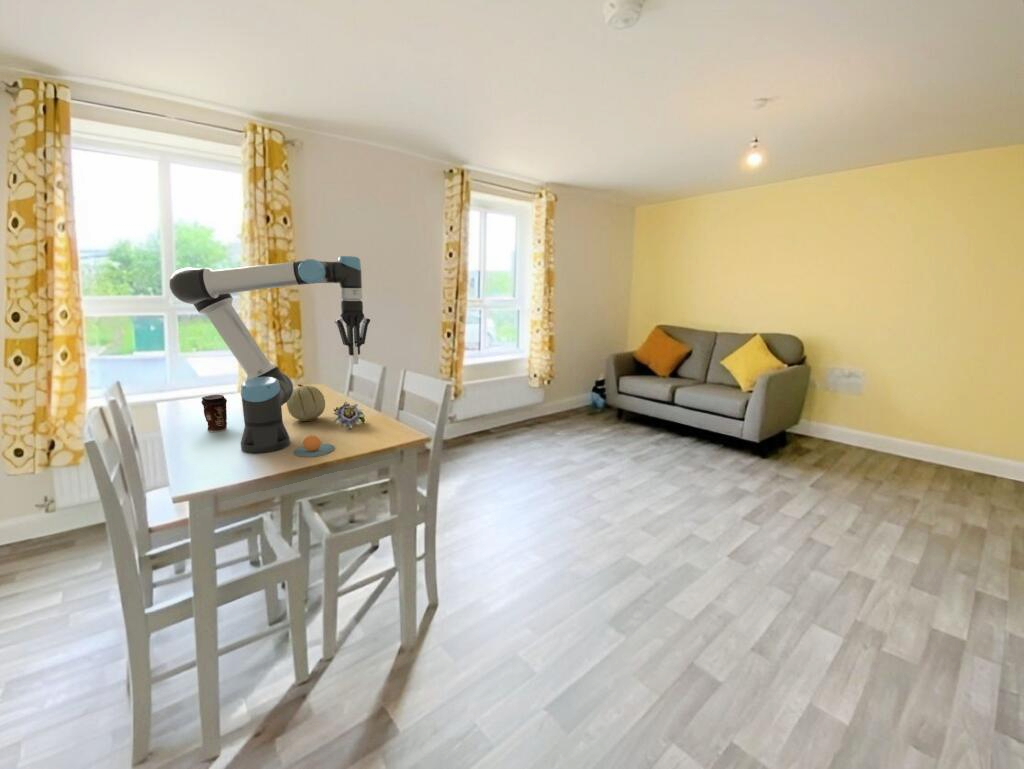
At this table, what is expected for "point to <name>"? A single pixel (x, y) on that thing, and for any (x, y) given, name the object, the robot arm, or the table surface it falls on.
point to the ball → (311, 443)
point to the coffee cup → (215, 412)
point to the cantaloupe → (306, 403)
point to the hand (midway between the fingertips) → (355, 363)
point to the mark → (321, 451)
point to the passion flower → (349, 415)
